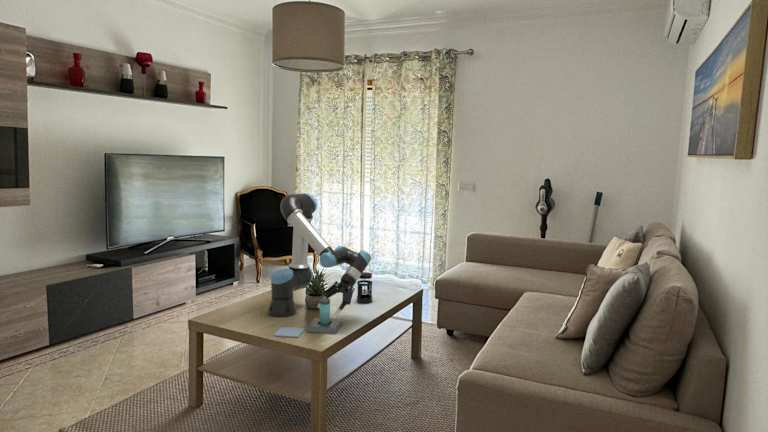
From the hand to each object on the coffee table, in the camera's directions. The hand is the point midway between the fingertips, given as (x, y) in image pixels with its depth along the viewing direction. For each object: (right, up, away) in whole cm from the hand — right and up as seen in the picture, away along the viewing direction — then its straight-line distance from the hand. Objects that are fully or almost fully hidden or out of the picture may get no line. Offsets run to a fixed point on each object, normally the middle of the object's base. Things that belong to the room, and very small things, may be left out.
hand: (327, 311), depth 265 cm
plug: (-1, -9, +1) cm, 9 cm away
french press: (+17, -4, +50) cm, 53 cm away
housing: (-1, -9, +1) cm, 9 cm away
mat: (-17, -9, -7) cm, 21 cm away
